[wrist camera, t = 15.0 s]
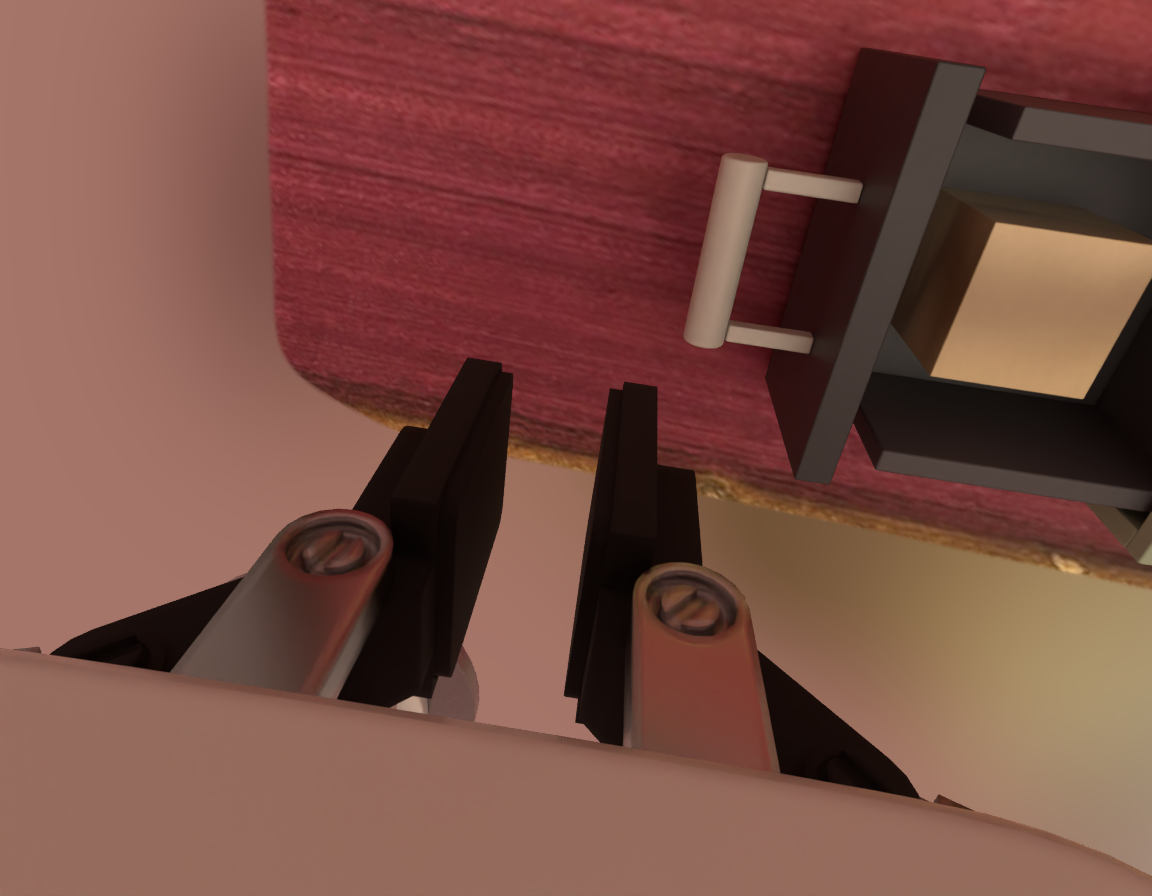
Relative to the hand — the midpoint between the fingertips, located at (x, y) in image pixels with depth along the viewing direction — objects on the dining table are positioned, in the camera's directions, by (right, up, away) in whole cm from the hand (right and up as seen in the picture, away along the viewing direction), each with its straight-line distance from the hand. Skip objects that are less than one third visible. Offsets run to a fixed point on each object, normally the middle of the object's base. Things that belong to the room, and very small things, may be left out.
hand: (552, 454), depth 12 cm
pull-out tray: (+14, +8, +15) cm, 22 cm away
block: (+15, +7, +14) cm, 22 cm away
